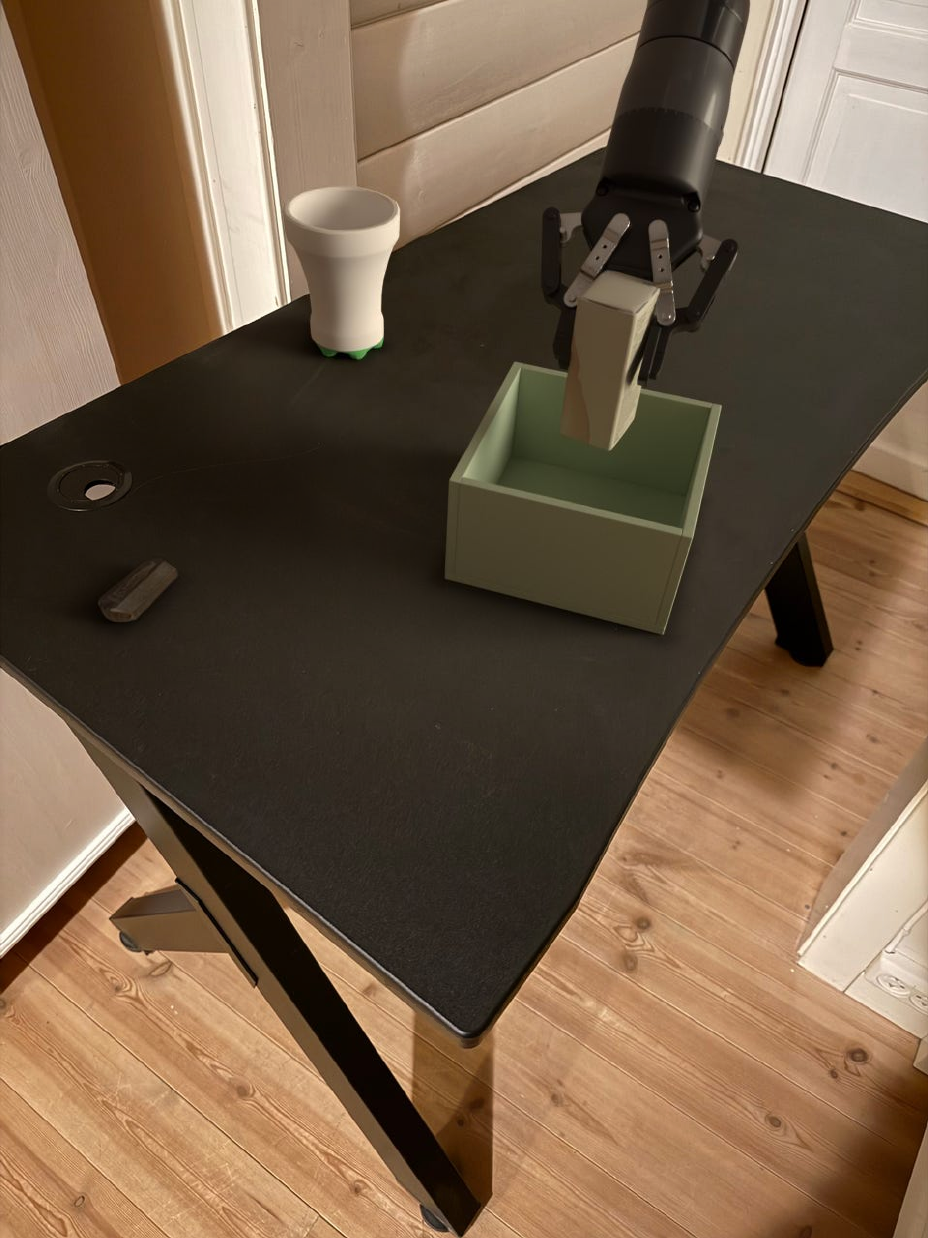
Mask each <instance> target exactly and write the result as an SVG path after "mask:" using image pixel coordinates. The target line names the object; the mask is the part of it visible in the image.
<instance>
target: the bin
mask: <svg viewBox="0 0 928 1238" xmlns="http://www.w3.org/2000/svg"><path fill="white" fill-rule="evenodd" d="M567 374H568V372H566V371H560V370H555V369H551V368H546V367H541V366H537V365H532V364H527V363H523V362H518V361H514V362H513V364H512V365H511V367H510V369H509V371H508V372H507V374H506V376H505V378H504V380H503V382H502V383H501V385H500V387H499V389H498V390H497V392H496V395H494V398H493V400H492V402H491V403H490V405H489V407H488V408H487V411H486V413H485V414H484V416H483V418H482V420H481V422H479V423H480V424H479V425H478V427H477V429H476V431H475V432H474V435H472V438H471V440H470V441H469V444H468V445H467V447H466V449H465V450H464V452H463V455H462V456H461V458H460V460H459V462H458V463H457V466H456V467H455V469H454V470H453V473H452V475H451V477H450V478H449V480H448V493H447V494H448V495H447V496H448V497H447V517H446V541H445V558H444V559H445V561H444V579H445V580H447V581H448V580H449V581H452V582H456V583H460V584H464V585H468V586H471V587H476V588H479V589H483V590H487V591H491V592H495V593H498V594H503V595H506V596H510V597H514V598H518V599H522V600H526V601H530V602H533V603H537V604H540V605H541V604H542V605H545V606H549V607H553V608H557V609H561V610H565V611H569V612H573V613H576V614H580V615H584V616H588V617H592V618H596V619H600V620H602V621H608V622H611V623H616V624H619V625H622V626H627V627H630V628H634V629H638V630H642V631H647V632H649V633H654V634H658V635H662V636H663V635H664V634H665V631H666V628H667V624H668V621H669V618H670V614H671V613H672V612H671V611H672V608H673V604H674V601H675V598H676V595H677V592H678V588H679V585H680V582H681V579H682V578H681V577H682V575H683V572H684V569H685V565H686V563H687V559H688V556H689V553H690V549H691V546H692V542H693V540H694V537H695V536H694V535H695V531H696V526H697V523H698V522H697V521H698V517H699V512H700V507H701V502H702V499H703V494H704V490H705V485H706V480H707V475H708V471H709V466H710V462H711V457H712V453H713V447H714V443H715V439H716V435H717V430H718V427H719V426H718V425H719V420H720V416H721V411H722V407H723V405H721V404H718V403H712V402H708V401H704V400H699V399H693V398H690V397H684V396H680V395H676V394H670V393H666V392H661V391H657V390H656V391H655V390H651V389H646V388H643V387H641V389H640V394H639V399H638V403H637V408H636V413H635V418H634V420H633V421H632V423H631V424H630V426H629V427H628V429H627V430H626V431H625V433H624V434H623V435H622V437H621V438H620V439H619V441H618V442H617V443H616V444H615V446H614V447H613V448H612V449H611V450H610V451H607V450H604V449H602V448H599V447H596V446H593V445H590V444H588V443H585V442H582V441H579V440H577V439H574V438H571V437H568V436H566V435H563V434H560V432H559V431H560V424H561V417H562V410H563V402H564V395H565V388H566V380H567Z"/></svg>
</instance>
